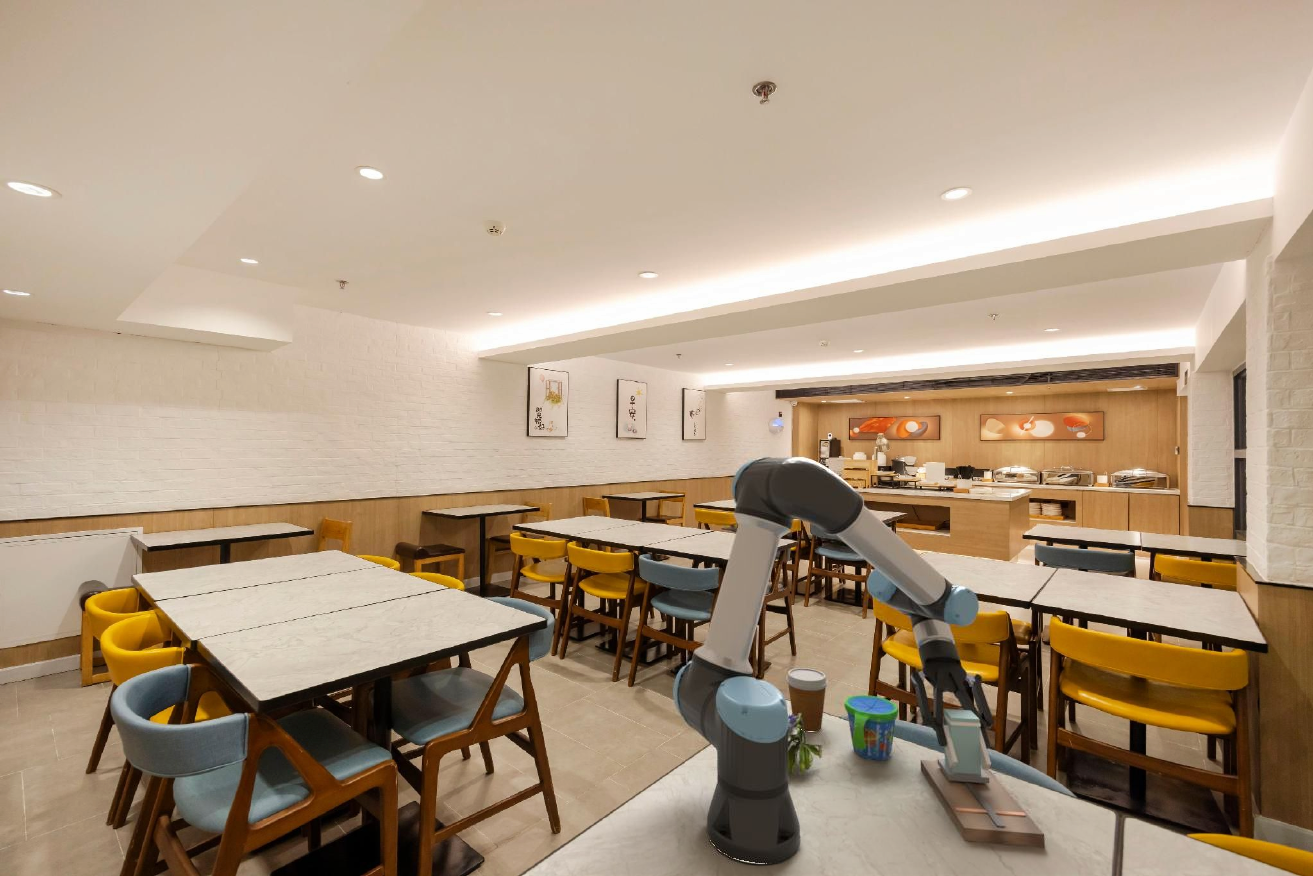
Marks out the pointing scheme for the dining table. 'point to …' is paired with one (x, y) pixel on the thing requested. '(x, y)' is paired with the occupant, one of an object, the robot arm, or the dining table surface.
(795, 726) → the passion flower
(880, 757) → the snack cup
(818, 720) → the disposable coffee cup
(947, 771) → the cap
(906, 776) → the dining table surface
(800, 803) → the dining table surface
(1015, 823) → the fader track
